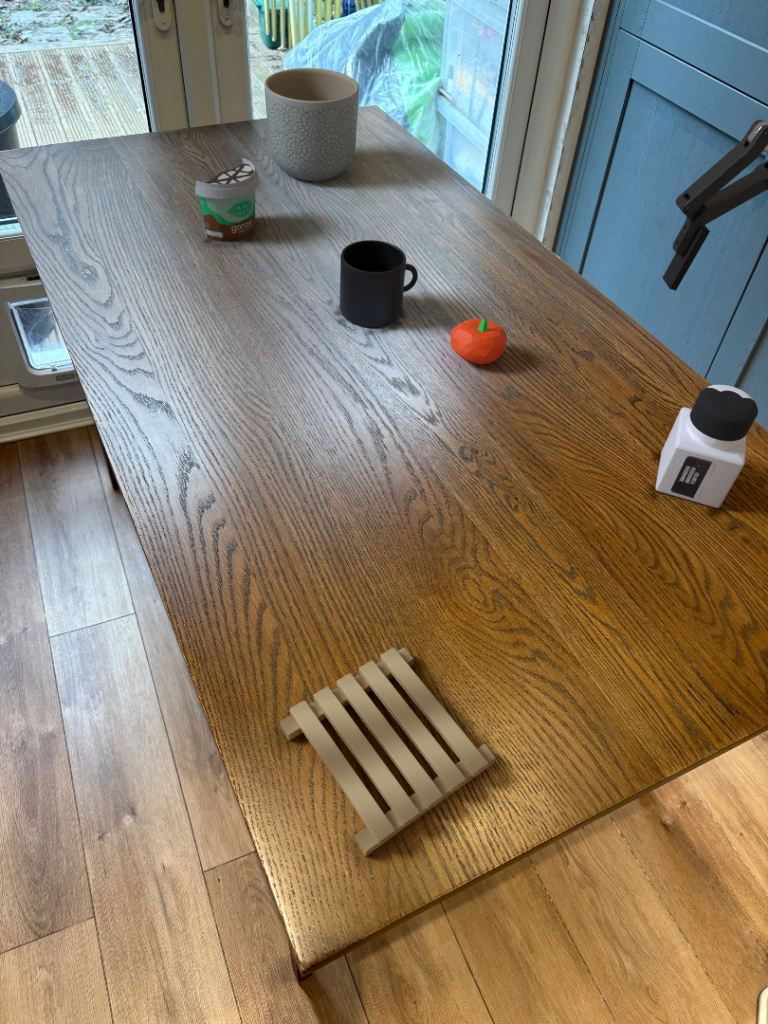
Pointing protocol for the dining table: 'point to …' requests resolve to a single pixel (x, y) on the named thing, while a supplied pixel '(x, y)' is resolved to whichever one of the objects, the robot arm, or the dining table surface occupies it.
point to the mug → (373, 282)
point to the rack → (387, 745)
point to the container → (707, 446)
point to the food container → (229, 203)
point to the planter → (312, 121)
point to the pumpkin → (478, 340)
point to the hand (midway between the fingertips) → (724, 300)
